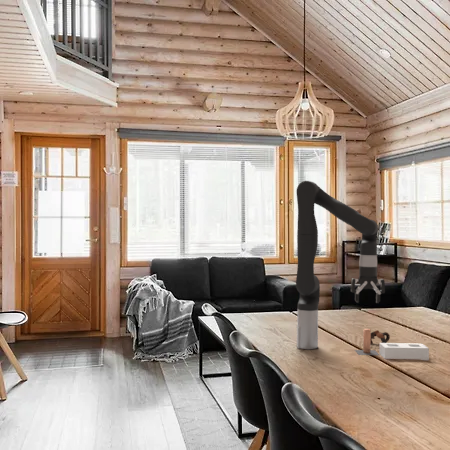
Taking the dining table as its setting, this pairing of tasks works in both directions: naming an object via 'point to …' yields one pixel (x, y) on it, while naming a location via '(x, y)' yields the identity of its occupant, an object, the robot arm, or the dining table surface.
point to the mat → (360, 352)
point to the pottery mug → (380, 336)
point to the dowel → (366, 340)
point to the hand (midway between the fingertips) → (367, 302)
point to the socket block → (404, 351)
